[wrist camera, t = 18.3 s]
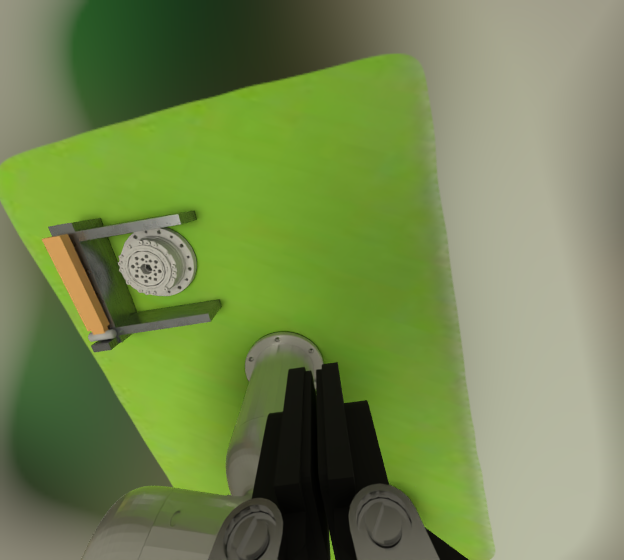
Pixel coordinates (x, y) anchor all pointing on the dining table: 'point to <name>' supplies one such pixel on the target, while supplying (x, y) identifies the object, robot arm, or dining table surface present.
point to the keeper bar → (78, 286)
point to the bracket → (112, 286)
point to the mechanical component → (157, 262)
